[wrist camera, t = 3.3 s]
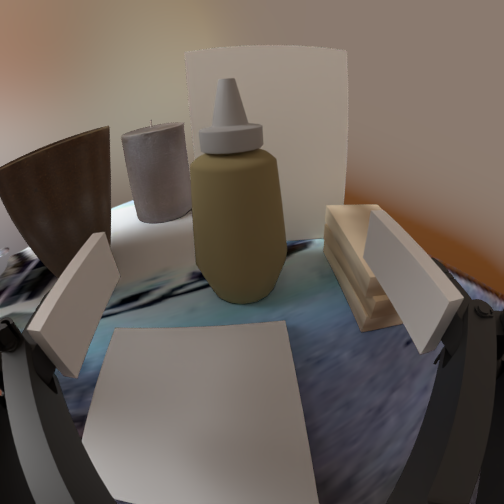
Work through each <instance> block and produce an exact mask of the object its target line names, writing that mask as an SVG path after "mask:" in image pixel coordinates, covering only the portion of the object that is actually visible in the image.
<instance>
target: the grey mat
mask: <svg viewBox="0 0 504 504" xmlns="http://www.w3.org/2000/svg"><path fill="white" fill-rule="evenodd" d="M82 443H83V445H84V447H85V449H86V451H87V453H88V455H89V457H90V459H91V461H92V463H93V465H94V467H95V469H96V470H97V472H98V474H99V476H100V477H101V479H102V481H103V483H104V484H105V486H106V487H107V489H108V491H109V492H110V494H111V495H112V497H113V498H114V499H117V500H121V501H125V502H129V503H133V504H319V502H318V495H317V489H316V483H315V477H314V471H313V465H312V459H311V454H310V448H309V442H308V436H307V431H306V425H305V420H304V414H303V409H302V404H301V398H300V393H299V388H298V382H297V377H296V372H295V367H294V362H293V357H292V351H291V346H290V341H289V336H288V332H287V327H286V322H285V320H283V321H273V322H262V323H251V324H237V325H222V326H203V327H175V328H115V329H114V332H113V335H112V338H111V340H110V343H109V346H108V349H107V352H106V355H105V358H104V361H103V364H102V367H101V370H100V374H99V377H98V380H97V383H96V387H95V390H94V394H93V397H92V401H91V405H90V408H89V412H88V416H87V420H86V424H85V429H84V433H83V438H82Z"/></svg>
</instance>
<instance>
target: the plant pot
mask: <svg viewBox="0 0 504 504" xmlns="http://www.w3.org/2000/svg"><path fill="white" fill-rule="evenodd" d="M109 133H110V132H109V126H105V127H101V128H97V129H93V130H90V131H87V132H83V133H80V134H77V135H74V136H71V137H68V138H65V139H63V140H60V141H57V142H54V143H52V144H49V145H47V146H44V147H42V148H39V149H37V150H35V151H32V152H30V153H28V154H26V155H24V156H21V157H19V158H17V159H15V160H13V161H11V162H9V163H7V164H5V165H3V166H1V167H0V197H1V200H2V202H3V204H4V206H5V208H6V210H7V212H8V213H9V215H10V217H11V219H12V221H13V223H14V224H15V226H16V227H17V229H18V230H19V232H20V234H21V235H22V237H23V238H24V240H25V241H26V242H27V244H28V245H29V247H30V248H31V249H32V251H33V252H34V253H35V254H36V255H37V257H38V258H39V259H40V260H41V261H42V262H43V264H44V265H45V266H46V267H47V268H48V269H49V270H50V271H51V272H52V273H53V274H54V275H55V276H56V277H57V278H58V279H59V277H60V276H61V275H62V273H63V272H64V270H65V269H66V268H67V266H68V265H69V263H70V262H71V261H72V259H73V258H74V257H75V255H76V254H77V253H78V251H79V250H80V249H81V248H82V246H83V245H84V244H85V242H86V241H87V240H88V239H89V237H90V236H91V235H92V234H93V233H100V232H105V234H106V237H107V240H108V243H109V246H110V242H111V169H110V134H109Z"/></svg>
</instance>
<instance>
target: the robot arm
mask: <svg viewBox="0 0 504 504" xmlns="http://www.w3.org/2000/svg"><path fill="white" fill-rule="evenodd" d="M363 258H364V260H365V261H366V263H367V264H368V266H369V267H370V269H371V271H372V272H373V274H374V275H375V277H376V278H377V280H378V282H379V283H380V285H381V286H382V288H383V290H384V291H385V293H386V295H387V296H388V298H389V300H390V301H391V303H392V305H393V306H394V308H395V310H396V311H397V313H398V315H399V317H400V318H401V320H402V322H403V324H404V325H405V327H406V329H407V331H408V333H409V335H410V336H411V338H412V340H413V342H414V344H415V346H416V348H417V350H418V352H419V353H420V355H421V354H424V353H427V352H430V351H433V350H435V349H436V347H437V346H438V344H439V342H440V341H441V340H442V342H443V344H444V347H443V349H442V351H441V352H440V354H439V355H438V357H437V358H436V359H435V361H434V363H433V364H435V365H436V363H437V362H438V360H440V361H439V365H438V370H437V374H436V378H435V382H434V386H433V390H432V394H431V397H430V401H429V404H428V408H427V411H426V414H425V417H424V420H423V423H422V426H421V429H420V431H419V434H418V437H417V439H416V442H415V445H414V447H413V450H412V452H411V454H410V457H409V459H408V461H407V463H406V466H405V468H404V470H403V472H402V474H401V476H400V478H399V480H398V482H397V484H396V486H395V488H394V490H393V492H392V494H391V496H390V497H389V499H388V501H387V503H386V504H469V501H470V498H471V495H472V493H473V490H474V487H475V484H476V481H477V478H478V475H479V472H480V468H481V473H480V481H479V488H478V494H477V499H476V504H504V309H503V311H493V309H492V308H491V306H489V305H488V304H487V303H486V302H484V301H482V300H478V299H475V300H472V299H471V298H470V297H469V295H468V294H467V293H466V291H465V290H464V289H463V288H462V287H461V285H460V284H459V283H458V282H457V281H456V279H454V277H453V276H452V275H451V274H450V273H449V271H448V270H447V269H446V268H445V267H444V266H443V264H442V263H440V262H439V261H437V260H436V259H434V258H430V257H429V256H428V254H427V253H426V252H425V251H424V250H423V249H422V248H421V247H420V246H419V245H418V244H417V243H416V242H415V241H414V239H412V237H411V236H410V235H409V234H408V233H407V232H406V231H405V230H404V229H403V228H402V227H401V226H400V225H399V224H398V223H397V222H396V221H395V220H394V219H393V218H391V216H390V215H388V214H387V213H386V212H385V211H384V210H371V213H370V219H369V226H368V232H367V238H366V243H365V249H364V254H363ZM119 278H120V273H119V271H118V268H117V265H116V263H115V260H114V257H113V254H112V252H111V249H110V246H109V243H108V240H107V237H106V234H105V232H100V233H93V234H92V235H91V236H90V237H89V239H88V240H87V241H86V242H85V244H84V245H83V246H82V248H81V249H80V250H79V251H78V253H77V254H76V255H75V257H74V258H73V259H72V261H71V262H70V263H69V265H68V266H67V268H66V269H65V270H64V272H63V273H62V275H61V276H60V277H59V279H58V280H57V282H56V283H55V285H54V286H53V288H52V289H51V290H50V291H49V292H48V293H47V294H46V295H45V296H44V297H43V299H42V301H41V302H40V305H38V307H37V308H36V311H35V312H34V313H33V315H32V317H31V318H30V320H29V322H28V323H27V325H26V327H25V329H24V330H23V332H22V333H21V332H20V331H19V329H18V328H17V326H16V325H15V324H14V322H13V321H12V319H10V318H3V319H1V320H0V390H1V391H2V394H1V396H0V504H117V503H116V501H115V500H114V498H113V497H112V495H111V494H110V492H109V491H108V489H107V487H106V486H105V484H104V483H103V481H102V479H101V477H100V476H99V474H98V472H97V470H96V469H95V467H94V465H93V463H92V461H91V459H90V457H89V455H88V453H87V451H86V449H85V447H84V445H83V443H82V441H81V439H80V437H79V434H78V432H77V430H76V427H75V425H74V423H73V420H72V418H71V415H70V413H69V410H68V407H67V405H66V402H65V399H64V396H63V393H62V390H61V387H60V384H59V381H58V379H57V377H56V375H55V374H54V371H55V369H56V368H57V369H58V370H59V371H60V373H61V374H62V375H63V376H66V377H71V378H78V375H79V372H80V369H81V367H82V364H83V361H84V358H85V356H86V353H87V351H88V348H89V346H90V343H91V341H92V338H93V336H94V333H95V331H96V328H97V326H98V324H99V321H100V319H101V317H102V315H103V312H104V310H105V308H106V306H107V303H108V301H109V299H110V297H111V295H112V293H113V291H114V289H115V287H116V284H117V282H118V280H119Z"/></svg>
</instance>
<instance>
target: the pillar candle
mask: <svg viewBox="0 0 504 504" xmlns="http://www.w3.org/2000/svg"><path fill="white" fill-rule="evenodd" d="M121 138H122V145H123V150H124V156H125V162H126V167H127V172H128V177H129V182H130V186H131V190H132V195H133V200H134V204H135V208H136V212H137V216H138V219H139V220H140V221H142V222H146V223H162V222H167V221H171V220H174V219H177V218H180V217H182V216H183V215H185V214H186V213H187V212H188V211H189V210H191V209H192V199H191V180H190V172H189V165H188V157H187V150H186V143H185V133H184V123H182V122H175V123H166V124H159V125H154V126H152V120H150V126H149V127H145V128H141V129H137V130H134V131H131V132H128V133H125V134H123V135H122V136H121Z"/></svg>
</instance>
